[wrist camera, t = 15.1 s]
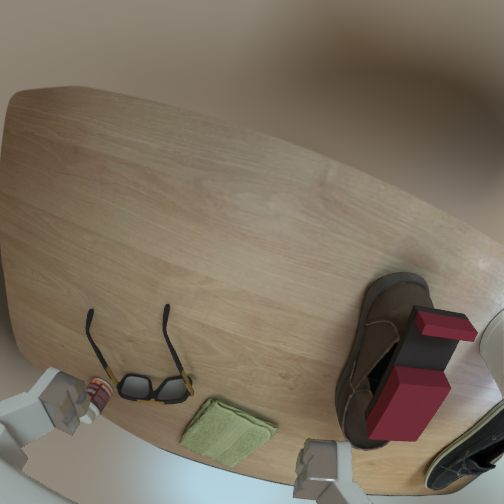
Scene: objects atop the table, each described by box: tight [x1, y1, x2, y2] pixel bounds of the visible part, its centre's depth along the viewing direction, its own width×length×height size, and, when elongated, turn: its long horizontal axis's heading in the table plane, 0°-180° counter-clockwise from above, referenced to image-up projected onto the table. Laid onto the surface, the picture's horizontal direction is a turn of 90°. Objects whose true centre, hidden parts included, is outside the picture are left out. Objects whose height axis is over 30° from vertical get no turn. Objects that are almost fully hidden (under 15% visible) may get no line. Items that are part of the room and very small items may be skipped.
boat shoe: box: [424, 400, 504, 490], centre depth 42 cm, size 11×29×9 cm, turn 159°
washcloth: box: [179, 398, 279, 468], centre depth 50 cm, size 13×18×3 cm
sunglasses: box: [86, 304, 194, 405], centre depth 44 cm, size 14×15×5 cm
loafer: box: [335, 272, 434, 451], centre depth 36 cm, size 11×30×11 cm, turn 6°
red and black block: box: [364, 305, 478, 441], centre depth 27 cm, size 14×6×4 cm, turn 172°
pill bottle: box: [79, 378, 113, 424], centre depth 49 cm, size 5×5×8 cm
